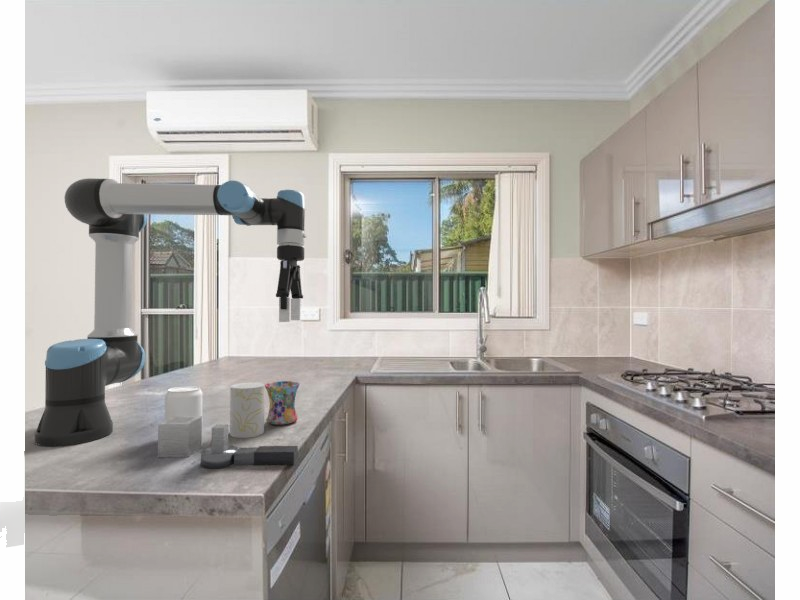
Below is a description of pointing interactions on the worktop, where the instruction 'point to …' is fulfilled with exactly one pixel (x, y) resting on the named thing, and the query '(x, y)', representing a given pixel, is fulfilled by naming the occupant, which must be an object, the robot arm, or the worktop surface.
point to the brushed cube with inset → (179, 436)
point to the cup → (246, 410)
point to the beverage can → (183, 401)
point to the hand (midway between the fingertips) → (290, 321)
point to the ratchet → (243, 453)
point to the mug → (282, 402)
